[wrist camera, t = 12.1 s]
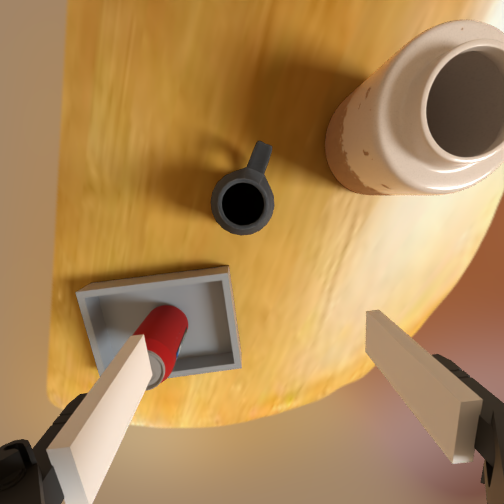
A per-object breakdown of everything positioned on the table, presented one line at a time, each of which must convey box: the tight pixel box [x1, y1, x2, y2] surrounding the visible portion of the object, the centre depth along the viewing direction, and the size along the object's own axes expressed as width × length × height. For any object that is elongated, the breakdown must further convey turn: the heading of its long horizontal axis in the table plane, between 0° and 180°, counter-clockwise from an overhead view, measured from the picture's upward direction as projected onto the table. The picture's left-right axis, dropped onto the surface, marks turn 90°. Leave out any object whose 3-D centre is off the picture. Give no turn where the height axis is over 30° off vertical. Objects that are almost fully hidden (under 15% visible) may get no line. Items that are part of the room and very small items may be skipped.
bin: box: [75, 266, 242, 378], centre depth 40 cm, size 16×22×4 cm
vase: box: [325, 20, 504, 195], centre depth 30 cm, size 15×15×17 cm
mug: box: [211, 141, 274, 235], centre depth 33 cm, size 12×9×11 cm
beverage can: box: [132, 305, 188, 390], centre depth 36 cm, size 7×7×12 cm
